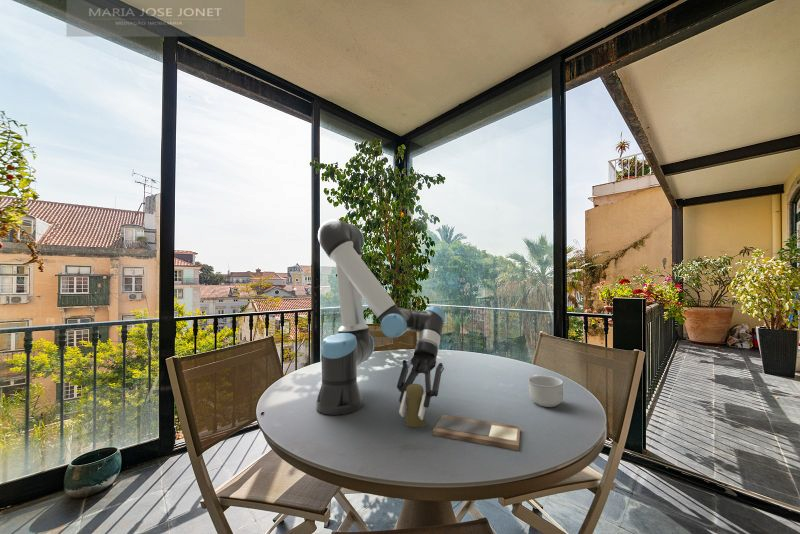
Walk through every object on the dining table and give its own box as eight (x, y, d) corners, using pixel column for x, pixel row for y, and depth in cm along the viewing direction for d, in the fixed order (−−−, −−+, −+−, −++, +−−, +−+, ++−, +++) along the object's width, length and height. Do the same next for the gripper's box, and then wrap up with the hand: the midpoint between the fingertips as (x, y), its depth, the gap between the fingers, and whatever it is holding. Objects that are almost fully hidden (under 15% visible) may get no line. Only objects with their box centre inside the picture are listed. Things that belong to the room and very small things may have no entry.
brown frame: (432, 435, 87) (432, 430, 87) (443, 418, 97) (443, 414, 97) (518, 450, 78) (518, 445, 78) (520, 430, 89) (520, 426, 89)
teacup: (568, 411, 101) (567, 385, 101) (531, 409, 103) (531, 384, 104) (555, 395, 115) (555, 373, 115) (524, 393, 117) (523, 371, 117)
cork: (428, 420, 96) (427, 383, 96) (421, 428, 91) (420, 389, 91) (409, 416, 99) (409, 380, 99) (401, 424, 93) (401, 386, 94)
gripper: (455, 355, 106) (444, 426, 90) (405, 351, 113) (385, 417, 97) (451, 342, 101) (438, 415, 85) (399, 338, 108) (378, 405, 92)
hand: (410, 416), depth 91 cm, fingers closed on cork, 5 cm apart
